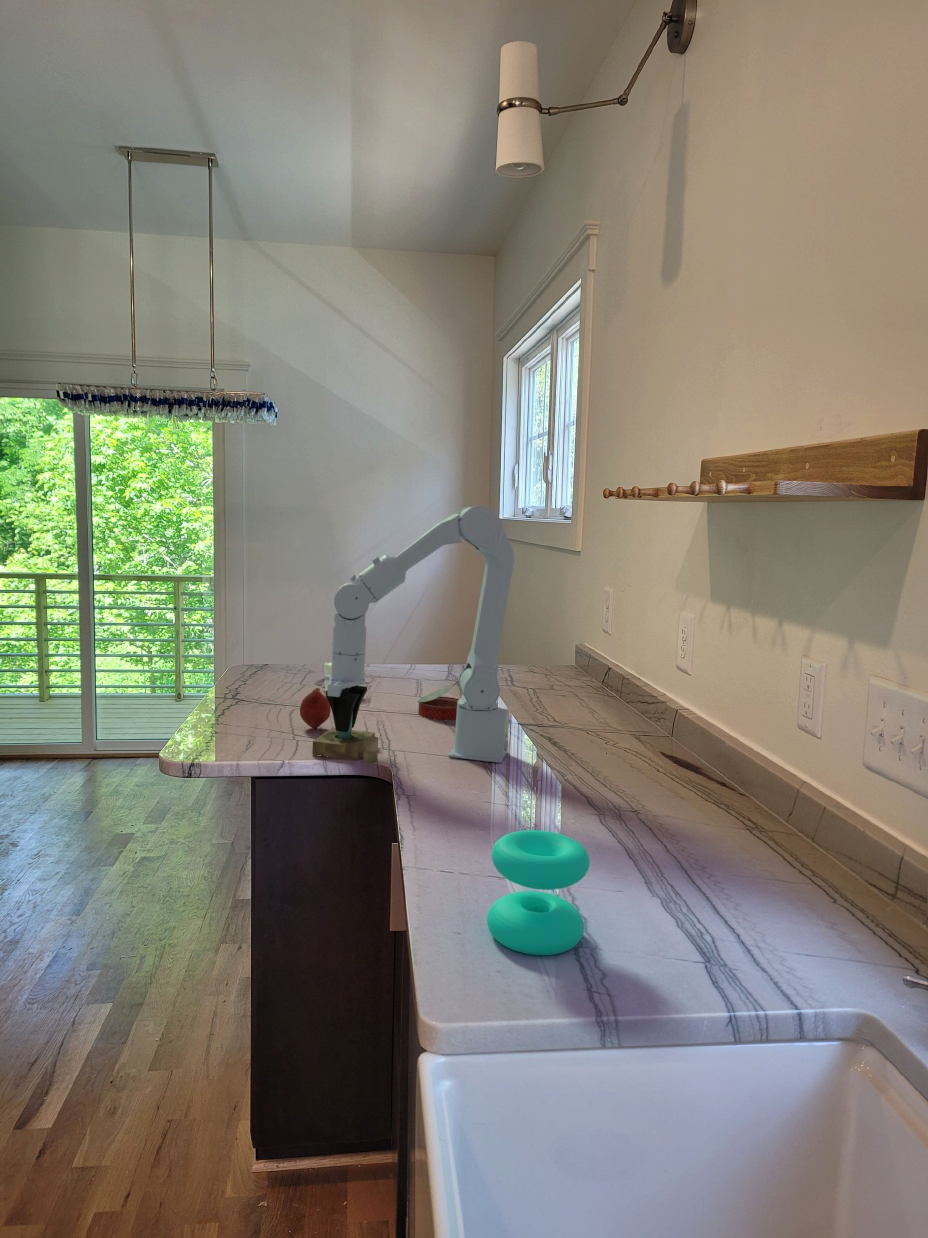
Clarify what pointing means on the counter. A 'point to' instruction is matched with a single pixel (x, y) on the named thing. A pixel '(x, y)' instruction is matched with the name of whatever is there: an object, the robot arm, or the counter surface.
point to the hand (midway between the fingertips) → (344, 729)
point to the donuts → (537, 892)
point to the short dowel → (370, 749)
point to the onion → (315, 708)
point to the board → (341, 745)
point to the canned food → (438, 705)
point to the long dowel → (345, 733)
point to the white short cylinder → (327, 673)
